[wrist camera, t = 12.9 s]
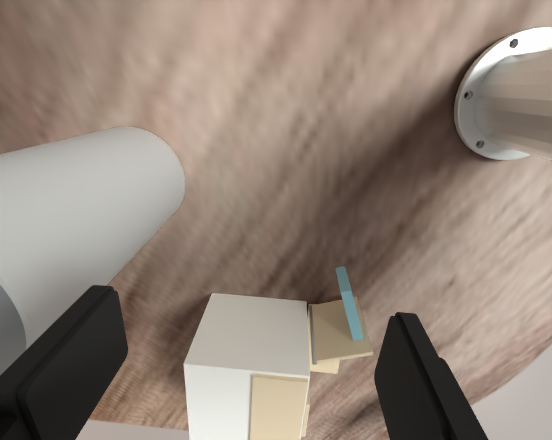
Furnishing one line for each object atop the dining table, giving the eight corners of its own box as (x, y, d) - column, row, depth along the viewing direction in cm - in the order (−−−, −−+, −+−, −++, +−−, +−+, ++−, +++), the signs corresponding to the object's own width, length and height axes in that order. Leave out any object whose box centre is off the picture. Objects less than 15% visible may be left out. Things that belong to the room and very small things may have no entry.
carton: (350, 305, 45) (370, 385, 33) (336, 372, 50) (349, 462, 38) (212, 292, 45) (182, 367, 33) (213, 361, 51) (188, 445, 39)
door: (295, 264, 41) (295, 313, 32) (346, 253, 40) (360, 300, 31) (309, 309, 44) (312, 365, 35) (357, 299, 43) (373, 355, 34)
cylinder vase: (131, 102, 35) (-178, 135, 12) (207, 184, 38) (79, 330, 16) (69, 169, 39) (-256, 291, 16) (144, 238, 42) (-35, 420, 19)
